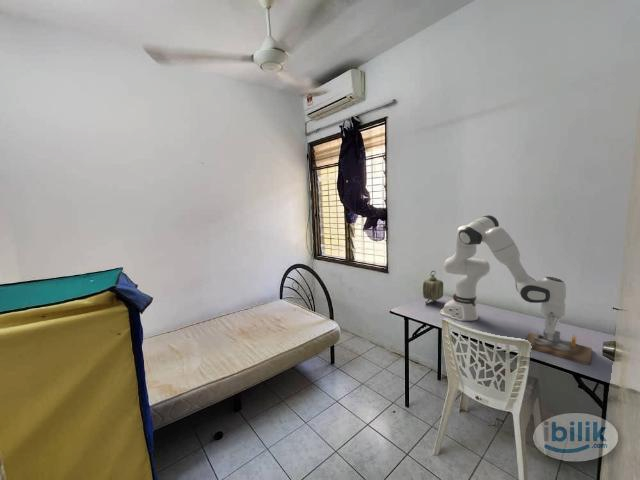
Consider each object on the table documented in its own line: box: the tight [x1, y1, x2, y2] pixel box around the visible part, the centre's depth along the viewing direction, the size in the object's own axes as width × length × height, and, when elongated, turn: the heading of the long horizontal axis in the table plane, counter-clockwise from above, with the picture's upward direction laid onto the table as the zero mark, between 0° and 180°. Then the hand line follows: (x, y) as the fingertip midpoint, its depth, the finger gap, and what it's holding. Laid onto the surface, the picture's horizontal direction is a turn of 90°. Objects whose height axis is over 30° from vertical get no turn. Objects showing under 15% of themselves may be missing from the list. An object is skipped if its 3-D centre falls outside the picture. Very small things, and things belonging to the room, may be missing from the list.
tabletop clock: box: [422, 270, 444, 305], centre depth 198 cm, size 14×9×25 cm, turn 130°
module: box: [542, 330, 561, 344], centre depth 132 cm, size 6×3×7 cm, turn 43°
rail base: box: [525, 332, 593, 366], centre depth 131 cm, size 24×16×4 cm, turn 43°
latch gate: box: [571, 334, 577, 347], centre depth 130 cm, size 1×6×4 cm, turn 133°
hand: (551, 336), depth 132 cm, fingers open, 8 cm apart
